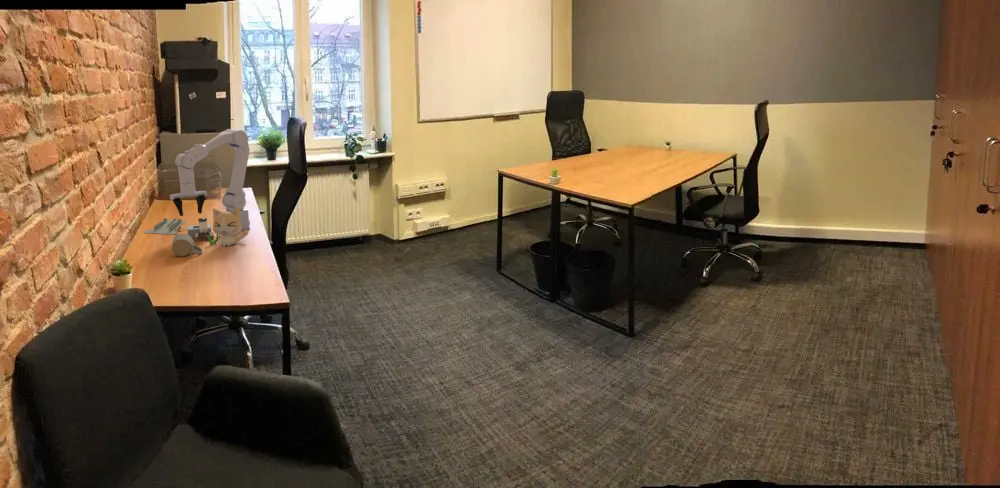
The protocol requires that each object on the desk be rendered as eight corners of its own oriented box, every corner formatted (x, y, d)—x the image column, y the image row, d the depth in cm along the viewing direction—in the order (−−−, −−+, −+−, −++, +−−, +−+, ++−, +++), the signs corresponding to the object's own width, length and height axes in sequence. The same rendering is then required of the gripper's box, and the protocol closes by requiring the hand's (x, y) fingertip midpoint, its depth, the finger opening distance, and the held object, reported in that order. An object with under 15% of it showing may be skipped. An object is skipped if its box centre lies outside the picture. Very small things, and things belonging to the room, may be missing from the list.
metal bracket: (160, 215, 314) (190, 216, 312) (164, 226, 317) (193, 228, 315) (140, 230, 302) (171, 232, 300) (144, 242, 305) (175, 244, 303)
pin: (208, 237, 297) (207, 217, 295) (208, 239, 294) (206, 219, 292) (200, 238, 296) (198, 218, 294) (200, 240, 293) (198, 219, 291)
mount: (213, 236, 299) (213, 231, 299) (213, 239, 293) (212, 235, 293) (195, 237, 297) (195, 233, 297) (195, 241, 291) (194, 236, 290)
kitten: (204, 247, 281) (201, 211, 277) (212, 241, 290) (209, 206, 287) (243, 247, 282) (239, 210, 278) (249, 241, 292) (246, 206, 288)
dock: (211, 231, 307) (210, 224, 306) (211, 235, 300) (210, 228, 299) (189, 233, 304) (188, 225, 303) (188, 237, 297) (187, 229, 296)
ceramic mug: (172, 258, 265) (170, 238, 263) (173, 253, 273) (171, 233, 271) (202, 256, 269) (200, 237, 267) (202, 251, 276) (201, 232, 275)
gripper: (201, 179, 300) (204, 210, 303) (165, 183, 290) (169, 215, 293) (207, 181, 295) (210, 213, 298) (171, 185, 285) (175, 217, 288)
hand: (190, 214), depth 295 cm, fingers open, 7 cm apart
